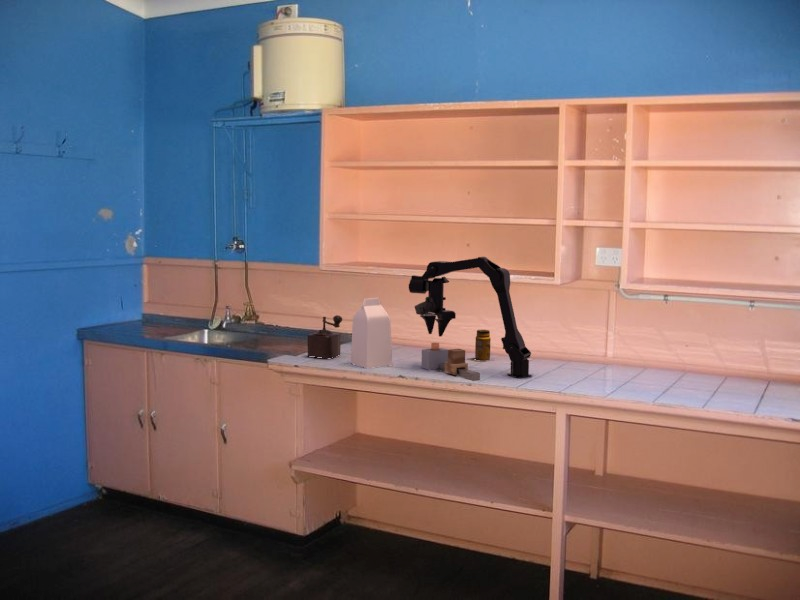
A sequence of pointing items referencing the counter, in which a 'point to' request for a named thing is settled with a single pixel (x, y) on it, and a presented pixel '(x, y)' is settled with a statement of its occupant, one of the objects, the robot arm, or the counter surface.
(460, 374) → the rail
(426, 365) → the grey peg holder
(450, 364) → the carriage
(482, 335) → the condiment
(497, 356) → the counter surface
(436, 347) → the brown rounded piece
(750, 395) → the counter surface
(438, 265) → the robot arm
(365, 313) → the milk
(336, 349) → the manual coffee grinder
